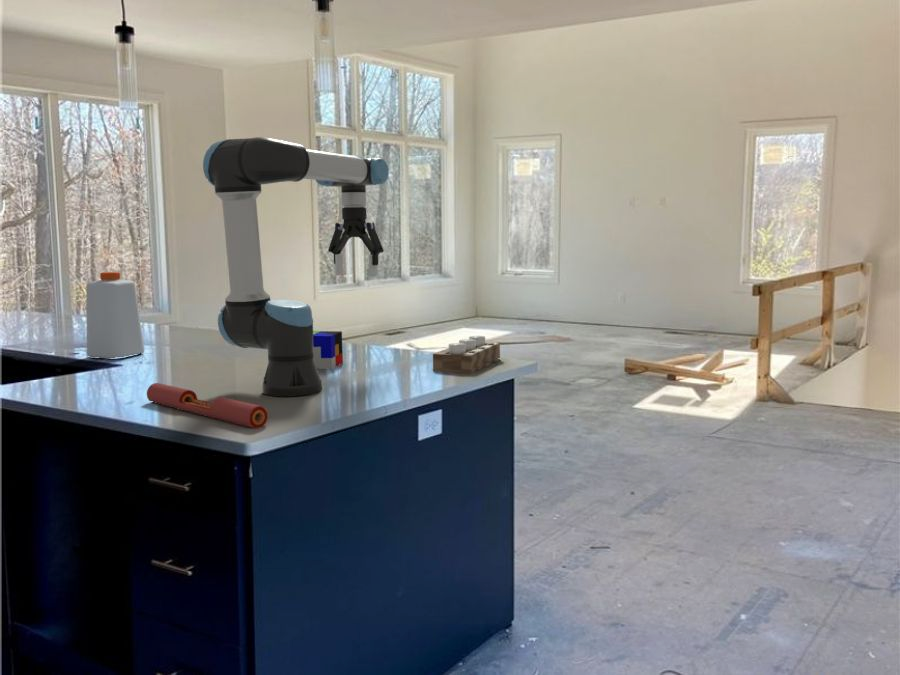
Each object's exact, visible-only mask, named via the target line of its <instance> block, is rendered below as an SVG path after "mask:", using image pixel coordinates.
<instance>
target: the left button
mask: <svg viewBox="0 0 900 675" xmlns="http://www.w3.org/2000/svg"><path fill="white" fill-rule="evenodd" d="M448 348H449V354H455V355H463V354H465V353H466V344H464V343H459V342H455V343H454V342H453V343H449V344H448Z"/></svg>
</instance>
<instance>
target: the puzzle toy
mask: <svg viewBox="0 0 900 675" xmlns="http://www.w3.org/2000/svg"><path fill="white" fill-rule="evenodd" d="M313 349H314V362H315V365H316V368H317V370H319V369H321V370H333V369H334V368H337V367H338V366H340V365H342V364H343V363H344V361H343V360H344V356H343V355H344V354H343V353H344V352H343V332H342V331H340V330H339V331H337V330H336V331H333V330H330V331H326V330H325V331H324V330H313ZM341 363H342V364H341ZM339 364H340V365H339ZM336 366H337V367H336Z"/></svg>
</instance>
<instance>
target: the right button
mask: <svg viewBox="0 0 900 675" xmlns="http://www.w3.org/2000/svg"><path fill="white" fill-rule="evenodd" d="M468 339H473V340H476V346H478V347H482V346H484V345H485V343H486V336H484V335H470V336H469V337H468Z"/></svg>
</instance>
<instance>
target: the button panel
mask: <svg viewBox="0 0 900 675" xmlns="http://www.w3.org/2000/svg"><path fill="white" fill-rule="evenodd" d="M500 345H501V344H500V343H497V342H489V343H488V342H487V343H486V342H485V345H484V346H482V347H478V346H476V349H474V350H472V351H469V350H466V353H465V354H463V355H455V354H449V347H447V348H444V349H442V350H439V351H436V352H434V353H432V371H434V372H445V373H447V372H448V373H458V374H459V373H461V374H464V373H465V374H473V373H475V372H477V371H480V370H481V369H483V368H485V367H487V366H490V365H492V364H494V363H495V362H494V361H496V362H498V361H500V359H501V348H500V347H501V346H500ZM498 358H500V359H498ZM493 362H494V363H493Z"/></svg>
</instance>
